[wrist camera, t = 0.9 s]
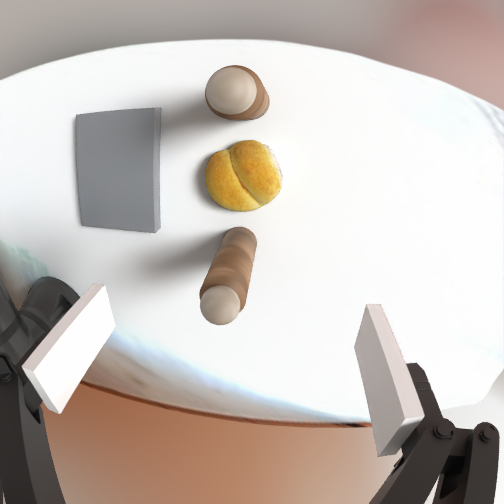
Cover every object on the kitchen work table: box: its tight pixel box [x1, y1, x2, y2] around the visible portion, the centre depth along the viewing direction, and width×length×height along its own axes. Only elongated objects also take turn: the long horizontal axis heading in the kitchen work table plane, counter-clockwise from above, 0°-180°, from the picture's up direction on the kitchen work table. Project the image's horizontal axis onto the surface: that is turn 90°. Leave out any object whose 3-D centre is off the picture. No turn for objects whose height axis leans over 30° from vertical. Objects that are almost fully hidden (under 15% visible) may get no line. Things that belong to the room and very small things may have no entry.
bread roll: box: [205, 140, 283, 212], centre depth 34 cm, size 8×9×4 cm
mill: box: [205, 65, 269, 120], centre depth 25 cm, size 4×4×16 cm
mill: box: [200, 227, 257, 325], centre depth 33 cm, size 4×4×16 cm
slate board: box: [76, 108, 161, 233], centre depth 36 cm, size 12×16×2 cm
